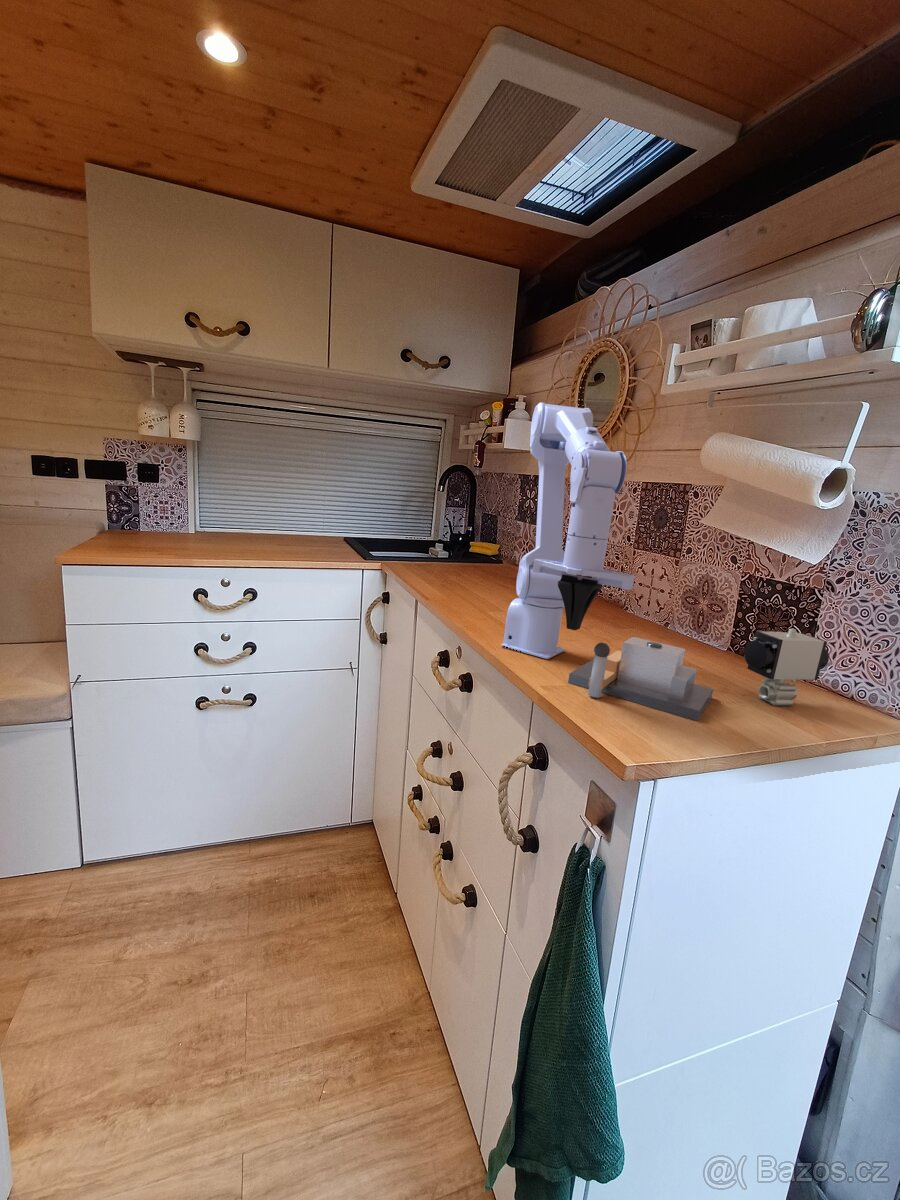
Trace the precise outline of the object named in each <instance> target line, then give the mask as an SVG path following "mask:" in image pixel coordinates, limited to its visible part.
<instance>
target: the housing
mask: <svg viewBox="0 0 900 1200" xmlns="http://www.w3.org/2000/svg"><path fill="white" fill-rule="evenodd" d="M621 651H622V653H621V659H620V664H619V670H618V676H617V680H620V681H624V682H627V683H631V684H635V685H638V686H642V687H645V688H649V689H652V690H656V691H660V692H663V693H667V694H669V690H670V685H671V680H672V677H673V676H674V675H675V674H676V673H677V672H678V671H679V670H680V669H681V668H682V667H683V662H684V657H685V652H686V648H682V647H677V646H674V645H670V644H665V643H661V642H657V641H653V640H649V639H643V638H639V637H637V636H636V637H635V636H632V637H630V638H628V639H627V640H625V641H624V642H623V643H622V648H621Z"/></svg>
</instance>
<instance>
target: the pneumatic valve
mask: <svg viewBox="0 0 900 1200" xmlns="http://www.w3.org/2000/svg"><path fill="white" fill-rule="evenodd" d="M827 644H828V641H827V640H823V639H821V638H817V637H815V636H811V635H809V634H805V633H803V632H797V630H796V628H788V632H786V631H784V632H782V631H763V630H761V631H760V630H759V631H755V633H754V637H753V638H752V640H751V641H749V642H748V643H747V645H746V646H745V648H744V660H745V662H746V664H747V669H748V670H749V671H752V672H754V673H755V674H758V675H760V676H763V677H764V678H763V679H762V680H761V685H760V686H759V688H758V698H759V699H760V700H763V701H765V702H768V703H770V705H772V706H774V707H779V706H780V707H792V706H793V705H794V701H793V700H794V699H796V697H797V696H798V692H797V691H798V686H797V685H796V684H790V683H789V682H787V681H791V682H793V683H795V682H796V681H797V680H800V681H801V680H803V681H806V680H807V681H813V680H814V681H817V680H818V679H819V675H820V674H821V670H823V669H824V668H826V667H827V665H828V664H829V660H830V655H829V650H828V649H827Z"/></svg>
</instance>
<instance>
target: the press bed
mask: <svg viewBox="0 0 900 1200" xmlns="http://www.w3.org/2000/svg"><path fill="white" fill-rule="evenodd" d="M593 662H594V658H592V659H591V660H590V661H588V662H586V663H584V664H583V665H581V666H580V667H577V668H576V669H575V670H572V671H571V672H569V673H568V679H567V683H569V684H572V685H576V686H579V687H582V688H585V689H588V690H589V686H588V683H589V678H590V677H591V674H592V668H593ZM697 672H698V668H695V667H694V668H693V667H690V666H686V665H682V668H681V669H680V670H679V671H678V672H677V673H676V674H675V675H674V676H673V677H672V680H671V685H670V690H669V694H667V693H663V692H660V691H656V690H652V689H649V688H645V687H642V686H638V685H635V684H631V683H627V682H624V681H620V680H617V678H616V679H615V680H613V681H612V682H611V683H609V684H608V685H607V686H605V687H604V688H603V689H602V692H601V694H605V695H609V696H612V697H616V698H619V699H622V700H626V701H629V702H632V703H636V704H640V705H643V706H646V707H649V708H653V709H656V710H660V711H661V712H667V713H669V714H672V715H676V716H680V717H683V718H685V719H690V720H693V721H696V722H698V720H699V719H700V717H702V714H703V712H704V711H705V710H706V708H707V706H708V704H709V703H710V701H711V700H712V698H713V692H714V688H711V687H707V686H704V685H699V684H695V681H696V677H697Z"/></svg>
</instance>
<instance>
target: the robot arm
mask: <svg viewBox="0 0 900 1200" xmlns="http://www.w3.org/2000/svg"><path fill="white" fill-rule="evenodd" d="M533 410H534V411H533V413H532V419H531V425H530V437H529V438H530V439H529V447H530V455H532V456H533V457H534V458H535V459H536V460H537V463H538V493H537V494H538V495H537V511H536V514H537V515H536V533H535V535H536V536H535V548H533V549H532V550H530V551H529V552H527V553H526V554H525V555H523V556H522V557H521V559H520V560H519V563H518V565H519V566H518V572H517V576H516V583H515V584H516V585H515V586H516V587H515V588H516V589H515V590H516V595H517V598H516V597H515V598H514V599H513V600H512V601H511V602H510V604H509V606H508V609H507V612H506V613H507V614H506V619H505V627H504V636H503V641H502V642H503V643H501V644H500V646H501V645H502V646H505V647H504V648H506V647H508V648H507V649H509V648H511V649H510V650H513V649H514V650H513V651H516V650H517V652H520V651H521V652H520V653H525V654H528V655H531V656H535V657H539V658H542V659H546V660H549V659H551V658H553V657H554V656H557V655H559V654H561V653H563V652H565V651H566V650H565V648H564V647H562V646H558V645H559V637H560V633H561V632H560V630H561V625H562V617H563V611H565V621H566V623H565V624H566V629H568V630H571V631H577V630H579V629H580V628H581V626H582V623H583V621H584V618H585V616H586V614H587V611H588V610H589V608H590V605H592V602H593V601H594V600H595V598H596V596H597V595H598V594H599V592H600V591H601V590H602V588H603V586H607V587H608V586H609V587H614V588H620V589H621V590H624V591H630V590H632V589H633V588H634V583H635V577H636V575H633V574H629V573H625V572H620V571H615V570H610V569H607V568H604V566H605V560H606V554H607V547H608V542H609V536H610V529H611V525H612V524H611V523H612V518H613V513H614V512H613V511H614V505H615V498H616V495H618V494H619V493H620V491H622V488H623V486H624V484H625V481H626V477H627V470H628V463H627V461H628V460H627V457H626V454H625V452H624V451H622V450H617V451H611V449H610V448H609V446H608V445H607V444H606V441H605V440H604V439H603V437H602V435H601V434H600V432H599V430H598V428H597V427H593V425H594V415H593V412H592V411H591V408H589V407H584V408H583V407H574V406H567V405H557V404H551V403H550V404H549V403H545V402H539V403H538V404H537V405H535V407H534V409H533ZM568 464H570V465H571V470H570V477H569V478H570V480H569V481H570V492H569V501H570V502H571V506H570V507H571V508H570V512H569V521H568V528H567V535H566V542H565V548H564V549H563V537H564V536H563V533H564V530H563V528H564V514H565V513H564V511H565V507H564V506H565V489H566V487H565V486H566V485H565V484H566V483H565V482H566V468H567V466H568ZM502 646H501V647H502Z"/></svg>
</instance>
